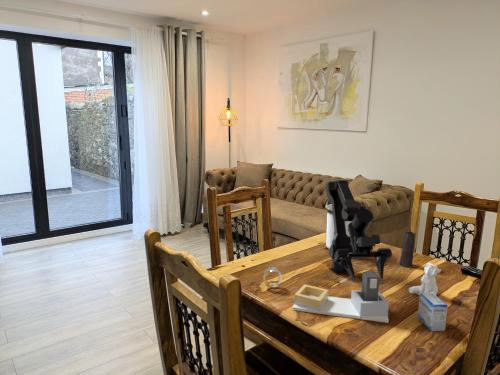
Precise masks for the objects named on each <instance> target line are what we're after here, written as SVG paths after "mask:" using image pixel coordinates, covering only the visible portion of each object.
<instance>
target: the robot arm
mask: <svg viewBox="0 0 500 375" xmlns="http://www.w3.org/2000/svg"><path fill="white" fill-rule="evenodd" d="M325 193H326V196H327V199H328V198H329V199H330V201H331V202H332V210H333V220H334V230H335V236H334V238H333V240H332V245H331V247H330V249H329V248H328V256H329V257H330V259H331V260H332V261H331V263H332V264H331V267H329V268H328V270H330V271H331V272H333V273H334V274H336V275H343V274H347V273H348V274H349V276H350V277H351V278H352V280H356V274H355V271H354V267H353V262H352V259H368V258H369V259H371V258H372V259H373V258H374V259H375V261H376V262H375V265H376V269H377V273H378V276H379V280H383V279H384V270H385V264H386V263H387V262H388V261H389V260H390V259H391V257H393V251H392V250H391V249H390V247H379V248H378V249H377V250H376V251H373V249H374V247H376V246H377V245H380V244H381V236H380V235H379V234H372V235H371V236H369V235H367V232H366V230H368V228H369V226H370V225H371V223H372V221H373V219H374V214H373V213H372V211H370V210H369V209H367V208H366V206H365V205H361V203H360V202H358V201H356V200H355V198H354V195H353V193H352V191H351V189H350V186H349V180H346V179H336V180H334V181H328V182H327V183H326V184H325ZM345 221H352V222H351V223H349V225H348V231H349V235H350V236H348V235H347V234H346V227H345Z"/></svg>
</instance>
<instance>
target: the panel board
mask: <svg viewBox="0 0 500 375" xmlns="http://www.w3.org/2000/svg"><path fill="white" fill-rule="evenodd" d="M296 310H297V311H298V312H306V313H312V314H313V313H314V314H319V311H318V310H314V309H311V308H307V307H303V306H300V305H296V304H294V303H293V305H292V311H296ZM320 315H327V316H332V317H333V316H335V317H343V318H350V319H357V320H362V321H363V320H364V321H372V322H373V321H374V322H378V323H387V324H388V323H389V315H388V316H362V318H361V319H360V315H359V314H358V312H357V311H356V309H355V308H354V306H353V305H352V303H351V298H344V297H336V296H329V297H328V301H327V302H326V303H325V305H324V306H323V307H322V308H321V310H320Z"/></svg>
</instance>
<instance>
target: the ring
mask: <svg viewBox="0 0 500 375" xmlns="http://www.w3.org/2000/svg"><path fill="white" fill-rule="evenodd" d="M273 272H275V273H277V274H278V275H279V276H278V277H279V280H278V282H277V283H275V284H273V283H272V284H269V283H268V282H267V281H266V277H267V276H268V275H270V274H271V273H273ZM262 279H263V283H264V285H265V286H267V287H269V288H271V287H274V288H277V287H278V286H279V285H280V284H281V282H282V280H283V277H282V274H281V271H280V270H278V267H275V266H271V267H269V268H268V269H266V270H265V271H264V273H263V278H262Z"/></svg>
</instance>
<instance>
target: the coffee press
mask: <svg viewBox="0 0 500 375" xmlns="http://www.w3.org/2000/svg"><path fill="white" fill-rule="evenodd" d="M325 209H326V227H325V228H326V230H325V244H323V246H322V248H323V247H327V248H328V250H329V249H330V247H331V245H332V240H333V238H334V236H335V230H334V220H333V210H332V202H331V201H330V199H329V198H328V197H327V200H326V204H325ZM351 222H352V221H345V227H346V234H347V235H348V236H350V235H349V231H348V225H349V223H351Z"/></svg>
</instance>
